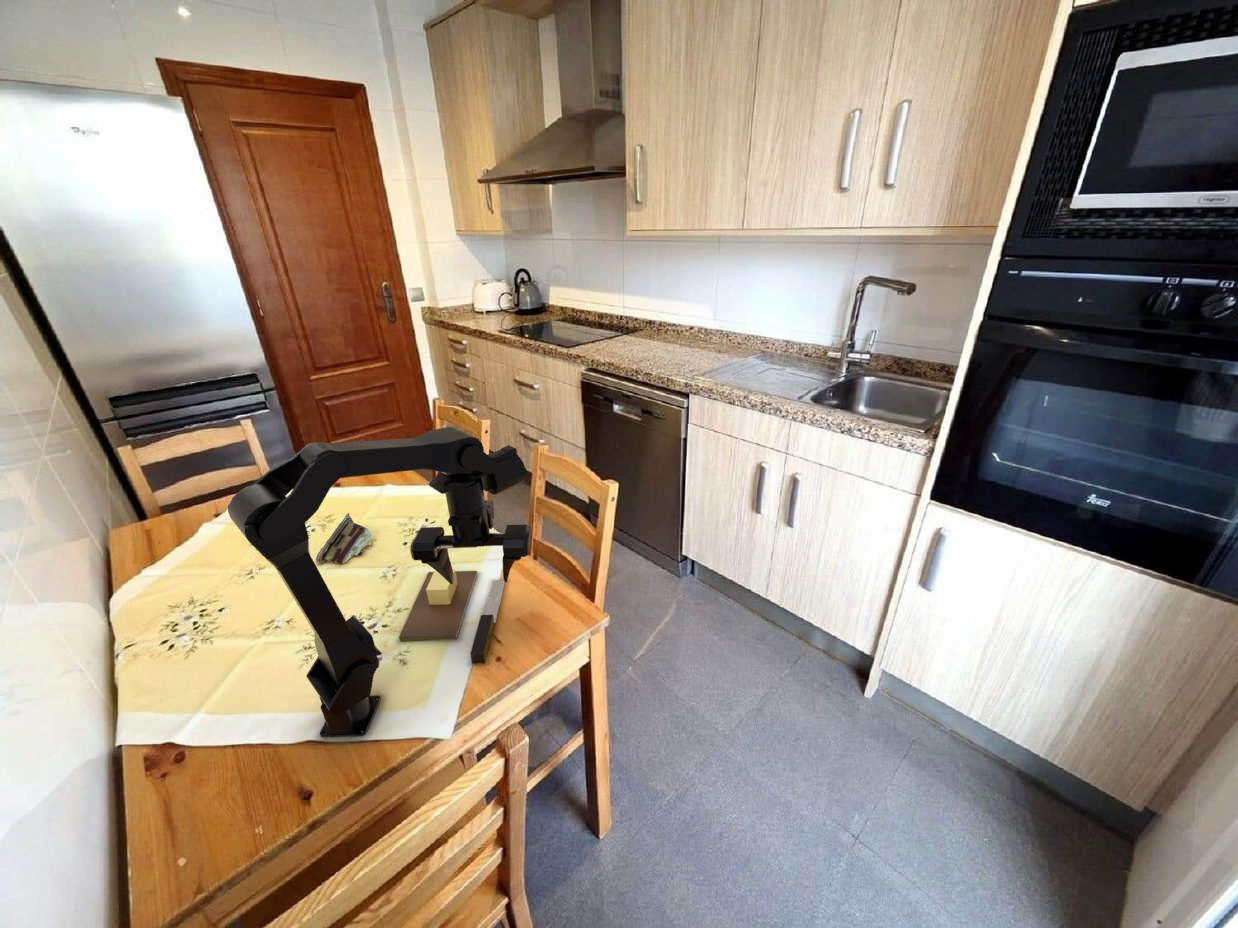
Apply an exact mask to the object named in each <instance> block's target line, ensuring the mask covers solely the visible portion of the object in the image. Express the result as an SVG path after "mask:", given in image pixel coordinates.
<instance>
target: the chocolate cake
mask: <svg viewBox="0 0 1238 928" xmlns="http://www.w3.org/2000/svg"><path fill="white" fill-rule="evenodd" d="M372 540H373V536H372V532H371V530H370V529H369V528H368V527H365V526H364V525H361V524H359V523H355V522H354V520H353V518H352V517H351V514H350V512H347V514H345V516H344V517H343V519H342V520H341V522H339V524H338V525H337V526H336V527H335V529H334V531H333V532H332V533H331V535H330V536H329V538H328V539H327V540H326V541H325V543H324V545H323V547H321V548H320V550H319V551H318V552H317V555H316V557H315V562H316V563H317V564H318V563H320V562H321V563H323V562H326V561H330V562H332V563H337V564H340V565H343V564H344V563H346V562H347V561H349V560H350V559H351V558H353V556H357V557H358V556H362V555H363V552H362V549H363V548H365V547H367V546H368V547H370V546H371V545H372V543H373V541H372Z"/></svg>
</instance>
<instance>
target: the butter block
mask: <svg viewBox="0 0 1238 928" xmlns="http://www.w3.org/2000/svg"><path fill="white" fill-rule="evenodd" d="M457 584H458V583H457V577H456V575H455V577H454V583H453V584H452V585H451V588H450V591H449V593H448V594H429V595H427V597H428V602H429V605H439V604H450V603H451V600H452V598H453V595H454V592H455V590H456V587H457Z"/></svg>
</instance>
